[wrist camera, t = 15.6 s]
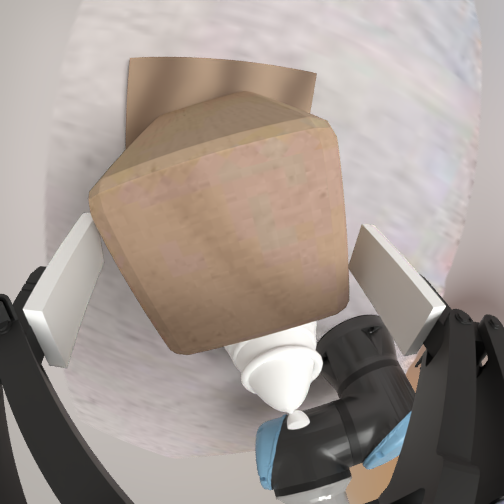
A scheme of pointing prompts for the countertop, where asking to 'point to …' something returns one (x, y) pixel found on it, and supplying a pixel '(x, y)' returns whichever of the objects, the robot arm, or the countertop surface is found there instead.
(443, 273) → the countertop surface
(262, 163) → the wooden block
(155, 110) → the walnut board
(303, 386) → the honey pot
